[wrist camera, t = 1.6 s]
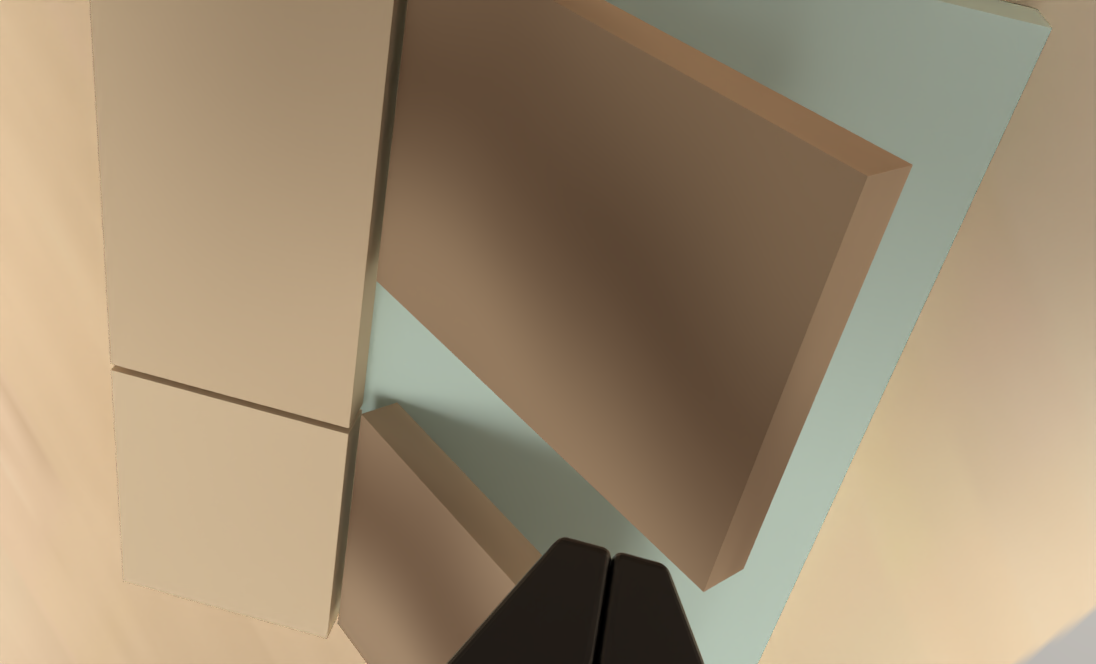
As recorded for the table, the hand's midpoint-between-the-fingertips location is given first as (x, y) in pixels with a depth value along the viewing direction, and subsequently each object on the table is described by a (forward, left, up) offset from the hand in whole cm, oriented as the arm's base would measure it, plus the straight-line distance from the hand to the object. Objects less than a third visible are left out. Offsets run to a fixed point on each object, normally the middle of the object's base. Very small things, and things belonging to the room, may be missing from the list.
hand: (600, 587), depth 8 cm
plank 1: (-10, +1, -7) cm, 12 cm away
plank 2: (-1, +1, -7) cm, 7 cm away
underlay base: (-5, +2, -11) cm, 13 cm away
